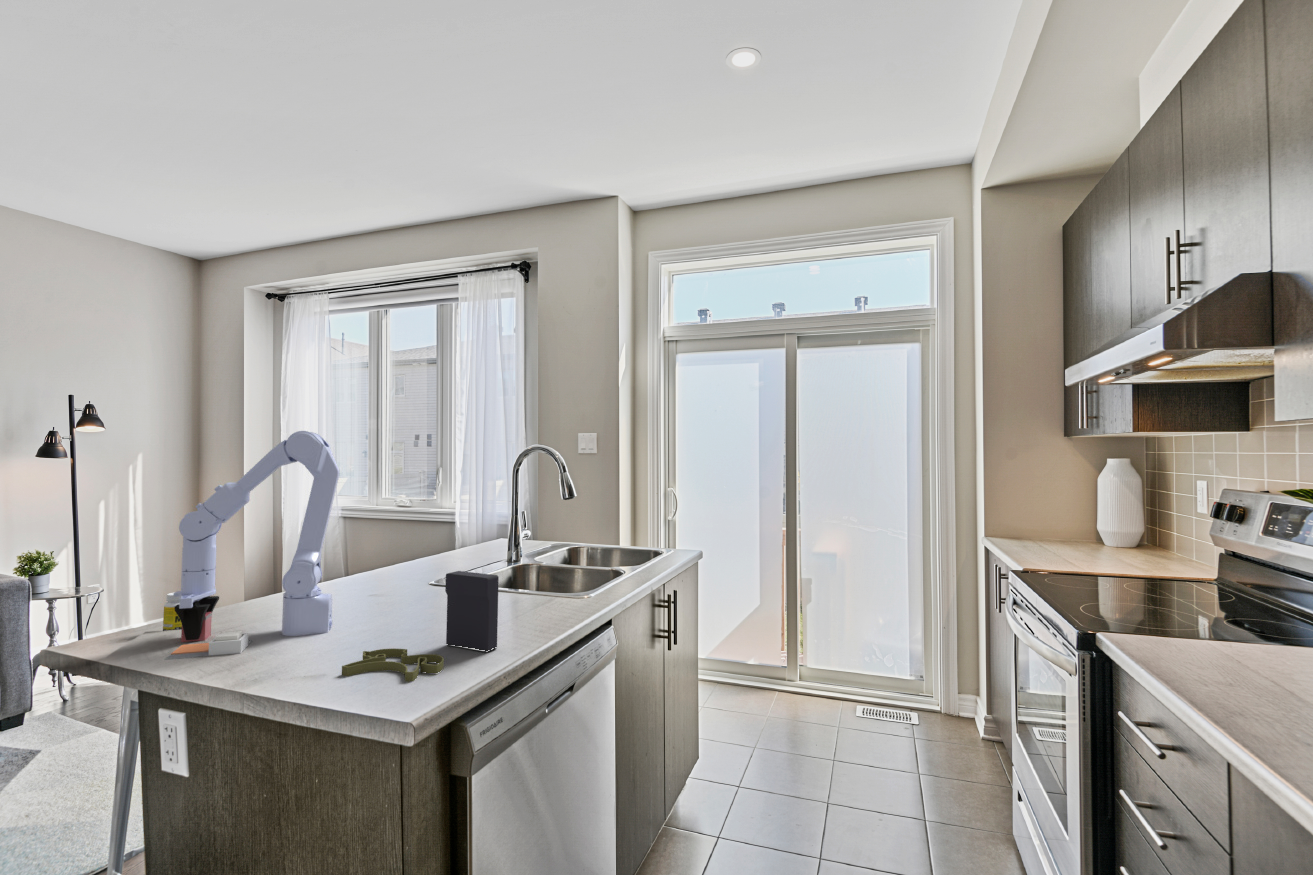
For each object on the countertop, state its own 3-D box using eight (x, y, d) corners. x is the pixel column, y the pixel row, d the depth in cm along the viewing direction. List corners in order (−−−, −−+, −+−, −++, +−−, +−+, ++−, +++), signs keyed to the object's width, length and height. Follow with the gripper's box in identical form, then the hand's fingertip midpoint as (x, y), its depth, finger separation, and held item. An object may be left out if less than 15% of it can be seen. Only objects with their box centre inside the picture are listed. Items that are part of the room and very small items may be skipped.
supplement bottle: (175, 635, 136) (176, 596, 136) (156, 634, 137) (158, 594, 137) (195, 629, 140) (196, 591, 141) (177, 628, 141) (179, 590, 142)
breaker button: (242, 645, 124) (242, 630, 125) (237, 651, 121) (237, 635, 121) (220, 647, 123) (221, 631, 123) (214, 652, 120) (215, 636, 120)
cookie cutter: (330, 677, 113) (331, 665, 113) (373, 656, 124) (373, 646, 124) (422, 685, 109) (422, 673, 109) (457, 663, 121) (457, 653, 121)
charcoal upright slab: (499, 648, 130) (501, 574, 130) (485, 653, 126) (487, 577, 126) (458, 641, 134) (460, 569, 135) (443, 646, 130) (445, 573, 131)
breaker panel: (252, 646, 129) (252, 628, 129) (240, 659, 120) (240, 640, 120) (181, 651, 125) (182, 633, 125) (163, 665, 116) (164, 646, 116)
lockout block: (211, 640, 132) (212, 611, 132) (204, 646, 128) (205, 616, 129) (187, 642, 131) (188, 613, 131) (180, 647, 127) (181, 617, 127)
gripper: (187, 564, 135) (185, 628, 135) (161, 576, 122) (158, 647, 121) (226, 563, 138) (224, 625, 137) (205, 574, 124) (202, 644, 124)
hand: (196, 636), depth 130 cm, fingers closed on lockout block, 4 cm apart
